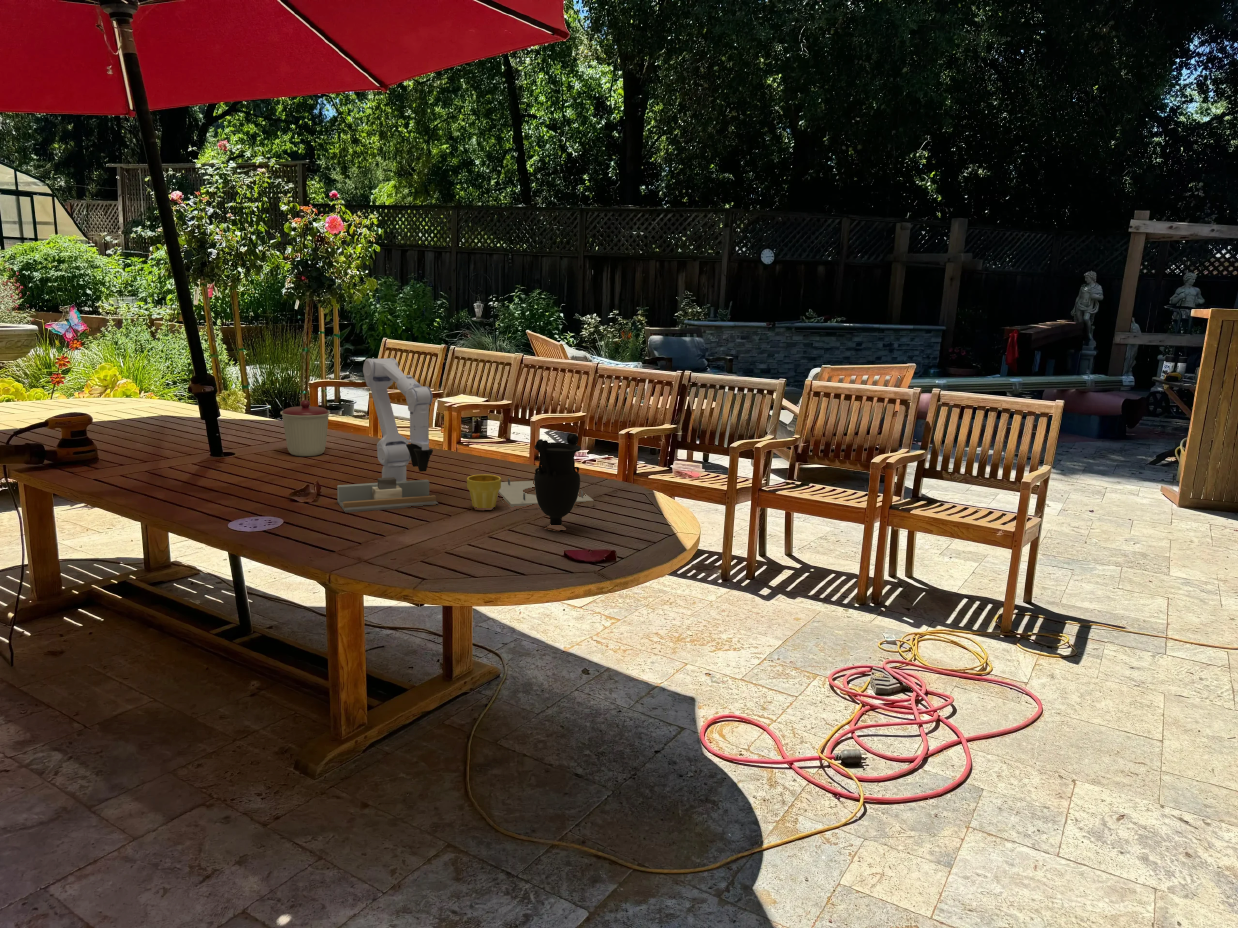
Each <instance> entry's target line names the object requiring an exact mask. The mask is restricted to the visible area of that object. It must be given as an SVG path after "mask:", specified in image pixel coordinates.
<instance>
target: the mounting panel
mask: <svg viewBox="0 0 1238 928" xmlns="http://www.w3.org/2000/svg"><path fill="white" fill-rule="evenodd" d="M533 481H534V480H521V481H520V480H519V481H511V478H509V477H508V478H507V481H501V489H500V490H499V491H498V493H499V494H500V495H501V496H502V497H503V499H504V500H505V501H506V502H507V503H508V504H509V505H510V506H511V507H514V506H526V505H532V504H538V502H537V498H536V494H527V493H525V492H523V490H525V489H528V488H532V487H535V485H534V484H533ZM580 490H581V489H580ZM583 492H584V490H581V497H579V496H578V497H577V500H576V502H586V501H594V500H595V499H593V498H592V497H590V496H589V495H588V494H586V493H585V495H586V496H585V495H584V496H583ZM594 502H595V501H594Z"/></svg>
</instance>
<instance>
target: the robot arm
mask: <svg viewBox="0 0 1238 928" xmlns="http://www.w3.org/2000/svg"><path fill="white" fill-rule="evenodd" d="M398 362H399V361H398V360H396V358H394V357H389V358H366V359H365V361H364V362H363V368H362V372H363V377H364V380H365V384H366V387H368V388H369V389H370V393H371V396H372V400H373V403H374V408H375V413H376V415H377V420H378V424H379V428H380V430H381V435H382V437H381V439H380V440H379V441H377V444H376V449H377V452H376V453H377V460H378V462H379V463H380V464H381V466H382V469H381V478H388V477H394V478H395V479H396V482H398V481H407V466H408V465H409V462H411V464H412V467H414V468H415V467H418V468H417V469H418V471H419V473H420V472H427V470H428V465H429V461H430V458H431V455H432V454H433V452H434V450H433V449H431V448H430V437H429V436H430V434H429V433H430V430H429V429H430V428H429V427H430V421H429V420H430V417H429V416H430V413H429V411H430V409H429V408H430V407H429V406H430V405H432V402H433V400H434V399H433V392H432V389H431V388H430V386H428V385H427V386H426V385H425V386H422V385H421V384H420V383H419V382H417V381H416V379H415V378H413V375H411V374H405V373H404V372H403V371H402V370H401V369H400V367H399V363H398ZM393 383H396V388H397V390H398V391H399V392H400V393H401V394H403V396H404V397H405V399H406V400H405V401H406V403H407V410H408V412H409V439H408V438H406V437H405V436H404V435H401V434H400V433H399V430H398V429H399V428H398V426H397V422H396V418H395V414H394V410H393V406H392V403H391V399H390V396H389V392H388V391H389V390H388V388H389V387H390V386H392V385H393Z"/></svg>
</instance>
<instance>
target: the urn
mask: <svg viewBox="0 0 1238 928" xmlns="http://www.w3.org/2000/svg"><path fill="white" fill-rule="evenodd" d="M566 441H567V442H558V441H557V442H555V441H554V442H549V441H548V440H546V439H545V440H544V439H542V438H540V439H538V440H537V441H536V442H535V445H534V447H533V448H534V449H535V451H537V452H538V456H539V462H538V467H536V468H535V469H534V476H533V477H534V478H533V481H534V484H535V492H536V494H535V495H536V498H537V502H538V505H539V507H540V508H541V509H540V510H541V511H542V513H543V514H545V515H547V516H548V517H549V525H550V524H551V525H561V524H562V525H563V523H562V522H563V518H564V517H566V516H567V515H568V514H569V513H570V512H572V510H573V509H574V508H573V506H574V504H575V502H576V500H577V497H578V494H579V489H580V488H581V476H580V473H579V471H580V467H579V466H576V461H575V455H576V453H578V452H581V450H582V446H580V445H578V443H579V436H578V435H576V434H573V433H568V435H567V437H566ZM580 490H581V489H580Z"/></svg>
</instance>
